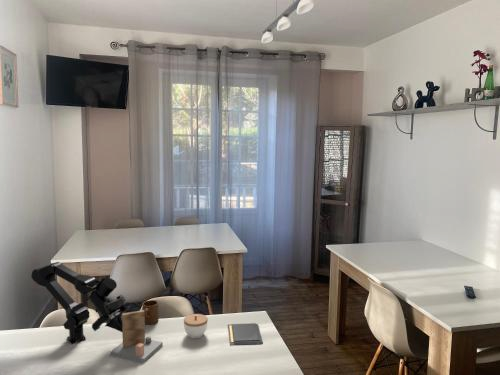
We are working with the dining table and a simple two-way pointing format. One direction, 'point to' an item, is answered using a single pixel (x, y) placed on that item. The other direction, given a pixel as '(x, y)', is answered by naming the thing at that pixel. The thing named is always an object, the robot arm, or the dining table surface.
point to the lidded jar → (195, 325)
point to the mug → (150, 311)
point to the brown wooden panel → (133, 328)
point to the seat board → (132, 351)
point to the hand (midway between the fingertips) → (123, 331)
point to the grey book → (244, 334)
